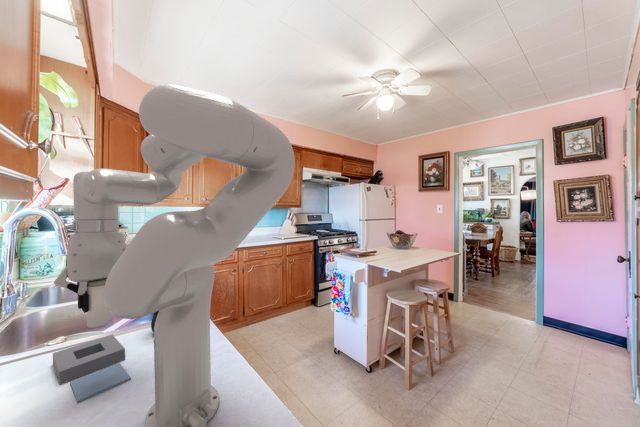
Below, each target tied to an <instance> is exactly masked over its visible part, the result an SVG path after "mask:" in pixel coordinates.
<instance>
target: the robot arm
mask: <svg viewBox="0 0 640 427" xmlns="http://www.w3.org/2000/svg"><path fill="white" fill-rule="evenodd" d="M138 118H139V121H140V124H141V126H142V127H143V129H144V130H145V131H146V132H147V133H148V136H146V137H145V138H144V139H143V140H142V141H141V144H140V154H141V156H142V159H143V161H144V162H145V163H146V165H147V167H149V169H151V170H152V171H151V172H149V173H146V172H144V173H143V172H138V171H129V170H120V169H113V168H105V167H104V168H101V167H100V168H95V169H92V170H90V171H79V172H77V173H75V174H74V176H73V180H72V181H73V183H72V184H73V185H72V186H73V188H72V189H73V220H72V221H71V222H68V223H66V222H65V223H64V230H65V231H66V230H68V231H73V233H72V234H70V236H69V239H68V243H67V250H66V259H65V268H64V269H63V270H62V271H61V272H60V274H59V275H58V276H57V277H56V279H54V281H53V284H54V285H55V286H57V287H60V288H64V289H68V290H70V291H71V292H73V293H75V294H77V309H78V310H82V312H83V313H85V314H86V313H87V312H88V311H89V297H88V293H87V291H86V286H87V282H88V281H89V280H95V279H101V278H107V280H106V283H105V288H104V298H105V303H106V305H107V307H108V309H109V310H110V313H112V314H113V315H114V316H116V317H119V318H121V319H126V320H135V319H139V318H143V317H147V316H149V315H152V314H154V312H157V311H159V312H158V315H157V318H156V322H155V326H154V333H153V353H154V354H153V355H154V356H153V357H154V358H153V361H154V366H153V367H154V404H153V405H152V406H151V407H150V408H149V410H148V411H147V413H146V416H145V421H144V422H145V423H144V427H207V423H208V422H209V421H210V420H211V419H212V418H213V417H214V416H215V414H216V412H217V410H218V407H219V405H220V394H219V390H218V389H217V388H216V387H215V386H213V385H212V384H211V382H212V380H211V378H212V377H211V376H212V375H211V372H212V371H211V301H212V296H213V293H212V292H213V289H214V283H215V279H216V278H215V277H216V276H215V275H216V272H215V271H216V269H215V264H218V263H221V262H223V261H224V260H226V259H227V258H229V257H230V256H231V255H232V254H233V253H234V251H235V250H236V249H237V248H239V245H241V243H243V241H244V240H245V239H246V238H247V237H248V236H249V234H250V233H251V232H252V231H253V230H254V229H255V227H256V226H257V225H258V224H259V223H260V221H261V220H262V219H263V218H264V217H265V216H266V214H268V212H269V211H270V210H271V209H272V208H273V207H274V206H275V205H276V204H277V203H278V202H279V200H281V198H282V197H283V195H284V194H285V193H286V191H287V190H288V189H289V187H290V185H291V183H292V179H293V177H294V173H295V168H296V167H295V166H296V165H295V164H296V163H295V162H296V161H295V160H296V159H295V153H294V149H293V147H292V144H291V141H290V140H289V138H288V137H287V135H286V134H285V133H284V132H283V130H281V129H280V128H279V127H278V126H277V125H275V124H273V123H272V122H271V121H269V120H268V119H265V118H264V117H262V116H261V115H258V114H256V113H255V112H253V111H252V110H250V109H248V108H247V107H245V106H244V105H242V104H240V103H238V102H236V101H235V100H232V99H231V98H229V97H226V96H222V95H219V94H215V93H211V92H207V91H203V90H198V89H194V88H191V87H185V86H181V85H179V84H178V85H177V84H173V83H170V84H169V83H167V84H160V85H157V86H155V87H153V88H151V89H149V91H148V92H147V93H145V95H144V96H143V97H142V100H141V101H140V105H139V108H138ZM205 158H209V159H212V160H215V161H219V162H222V163H227V164H232V165H236V166H239V167H243V168H245V169H244V171H243V172H241V173H240V174H239V175H237V176H235V177H234V178H232V179H230V180H229V181H228V182H226V183H225V184H224V185H223V186H222V187H221V188H220V189H219V190H218V191H217V193H216V195H215V196H213V198H212V199H211V200H210V202H209V203H208V204H207V205H205V207H203V208H201V209H197V210H196V209H195V210H180V211H179V210H177V211H169V212H164V213H163V212H162V213H161V214H160V213H159V214H158V215H156V216H154V217H151V218H150V219H149V220H147V221H146V222H145V223H144V224H143V225H142V226H141V227H140V229H139V230H138V231H137V232H136V234H135V235H134V236H133V238H132V239H131V240H130V241H129V243H128V245H126V238H125V235H124V232H122V231H119V206H123V205H124V206H150V205H155V204H157V203H160V202H163V201H164V200H165V199H168V198H169V197H170V196H172V195H173V194H175V193H176V192H177V191H178V189H179V188H180V185H181V182H182V179H183V173H184V172H185V171H187V170H189V169H190V168H192V167H193V166H195V165H196V164H198V163H200V162H201V161H203V160H204V159H205ZM67 279H68V280H69V281H68V280H67ZM74 282H75V283H74Z"/></svg>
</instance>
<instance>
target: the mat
mask: <svg viewBox="0 0 640 427" xmlns="http://www.w3.org/2000/svg"><path fill="white" fill-rule="evenodd" d="M130 380H132V377H131V375H129V373H128V372H127V370H126V369H125V368H124V366H123V365H122V364H121V362H118V363H116V364H113V365H110V366H108V367H105V368H103V369H100V370H97V371H95V372H92V373H90V374H87V375H85V376H82V377H79V378H77V379H74V380H72V381H69V385H70V388H71V390H72V392H73V395H74V398H75V400H76V403H77V404H79V403H82V402H83V401H86V400H88V399H90V398H92V397H95V396H97V395H99V394H102V393H105V392H106V391H108V390H111V389H114V388H115V387H117V386H119V385H122V384H124V383H126V382H129V381H130Z"/></svg>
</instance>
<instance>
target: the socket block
mask: <svg viewBox="0 0 640 427" xmlns="http://www.w3.org/2000/svg"><path fill="white" fill-rule="evenodd" d="M125 360H126V348H125V347H124V345H123V344H121V342H120V341H119V340H118V339H117V338H116V337H115V336H114V334H110V335H106V336H104V337H103V336H102V337H100V338H96V339H94V340H90V341H87V342H83V343H81V344H77V345H74V346H72V347H68V348H65V349H61V350H58V351H55V352H52V365H53V369H54V372H55V375H56V378H57V381H58V384H59V386H60V385H64V384H66V383H70V382H72V381H74V380H77V379H79V378H82V377H85V376H87V375H90V374H92V373H95V372H97V371H100V370H102V369H105V368H108V367H110V366H113V365H115V364H118V363H121V362H124V361H125Z"/></svg>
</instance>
